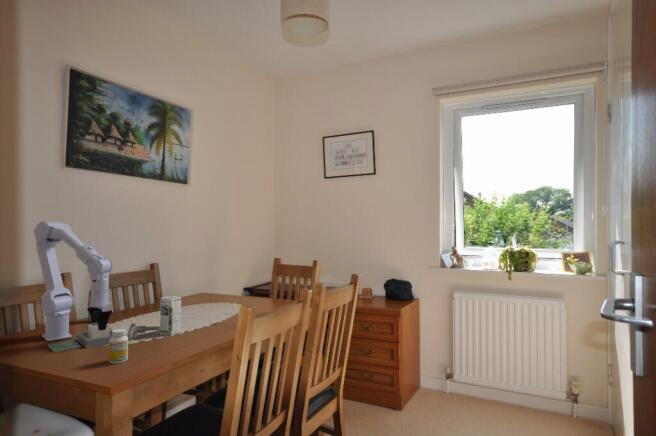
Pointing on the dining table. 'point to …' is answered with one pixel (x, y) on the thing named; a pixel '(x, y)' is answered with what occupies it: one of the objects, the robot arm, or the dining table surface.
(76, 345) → the rubber mat
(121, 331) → the supplement bottle
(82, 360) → the dining table surface
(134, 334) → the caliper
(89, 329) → the block
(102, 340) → the grey square frame
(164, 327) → the syrup box
